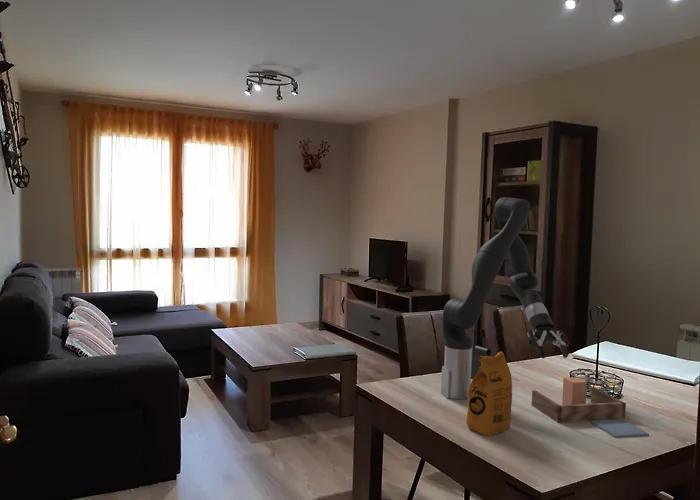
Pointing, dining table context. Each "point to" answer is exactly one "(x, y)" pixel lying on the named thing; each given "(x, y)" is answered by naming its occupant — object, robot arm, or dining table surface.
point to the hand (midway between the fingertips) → (555, 357)
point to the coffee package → (490, 396)
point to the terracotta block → (574, 391)
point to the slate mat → (619, 428)
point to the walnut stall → (581, 408)
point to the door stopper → (475, 362)
